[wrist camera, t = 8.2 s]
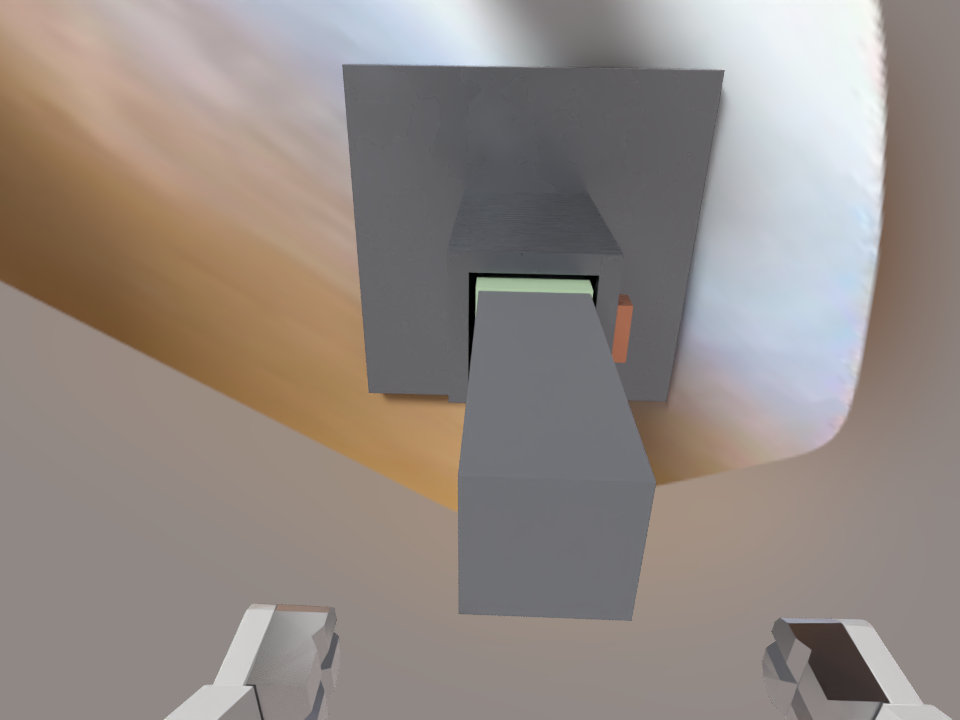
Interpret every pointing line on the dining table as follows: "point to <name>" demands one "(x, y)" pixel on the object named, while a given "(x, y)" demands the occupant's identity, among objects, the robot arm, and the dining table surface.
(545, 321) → the post
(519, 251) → the stand
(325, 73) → the dining table surface
